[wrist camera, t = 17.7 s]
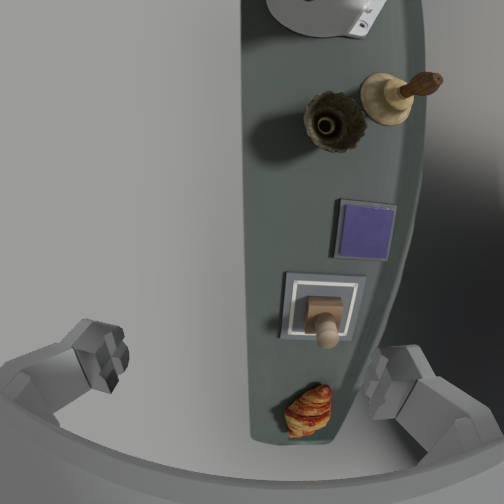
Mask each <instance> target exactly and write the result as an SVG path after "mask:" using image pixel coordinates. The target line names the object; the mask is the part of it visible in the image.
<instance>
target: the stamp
mask: <svg viewBox="0 0 504 504" xmlns="http://www.w3.org/2000/svg"><path fill="white" fill-rule="evenodd" d="M343 309H344V305H343V302H342V300H341V297H328V296H308V297H307V305H306V312H305V319H304V329H305V334H316V336H317V342H318V345H319V346H320V347H322V348H325V349H328V348H332V347H334V346H336V345H337V344H338V342H339V335H338V331H339V327H340V323H341V318H342V314H343Z"/></svg>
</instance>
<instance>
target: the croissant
mask: <svg viewBox="0 0 504 504" xmlns="http://www.w3.org/2000/svg"><path fill="white" fill-rule="evenodd" d="M331 396H332V392H331V390H330V387H329V386H328V385H325V384H324V385H320V386H318V387H316V388H315V389H310V390H308V391H306V392H305V393H304V394H303V395H302V396H300V397H298V398H297V399H296V400H295V401H294V402H293V404H291V405H290V406H289V407H288V408H287V409H286V411H285V419H286V422H287V428H288V435H289V436H290V437H291V438H292V437H301V436H303V435H311V434H312V433H314V430H317V429H320V428H322V427H324V426H326V423H327V422H328V420H329V418H330V415H331V399H330V398H331Z"/></svg>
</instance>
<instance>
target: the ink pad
mask: <svg viewBox="0 0 504 504" xmlns="http://www.w3.org/2000/svg"><path fill="white" fill-rule="evenodd" d="M396 208H397V205H395V204H388V203H380V202H371V201H361V200H351V199H340V202H339V212H338V221H337V230H336V238H335V246H334V253H333V257H334V258H343V259H360V260H378V261H387V260H388V255H389V250H390V245H391V239H392V234H393V228H394V222H395V215H396Z"/></svg>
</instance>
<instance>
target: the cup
mask: <svg viewBox="0 0 504 504" xmlns="http://www.w3.org/2000/svg"><path fill="white" fill-rule="evenodd" d="M364 116H365V113H364V112H363V111H360V107H359V104H358V103H357V102H355V100H354V99H353V98H352V97H349V96H344V93H342V92H340V93H335V92H334V91H327V92H324V93H322V94H318V95H316V96H315V97H314V99H313V100H312V101H311V102H310V103H309V105H308V106H307V107H306V109H305V113H304V119H303V120H304V127H305V130H306V133H307V135H308V136H309V138H310V139H311V140H312V142H313V143H314V144H315V145H316V146H318V147H320V148H321V149H323V150H327V151H328V152H332V153H334V152H338V153H344V152H348V151H349V150H351V149H354V148H356V147H357V145H356V144H357V142H359V141H360V138H361V137H363V136H364V135H365V132H364V131H365V130H366V128H367V123H366V121H365V120H364ZM322 121H328V122H329V123H330V125H331V128H330V130H329V131H327V132H324V131H322V130H321V129H320V127H319V125H320V123H321V122H322Z"/></svg>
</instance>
